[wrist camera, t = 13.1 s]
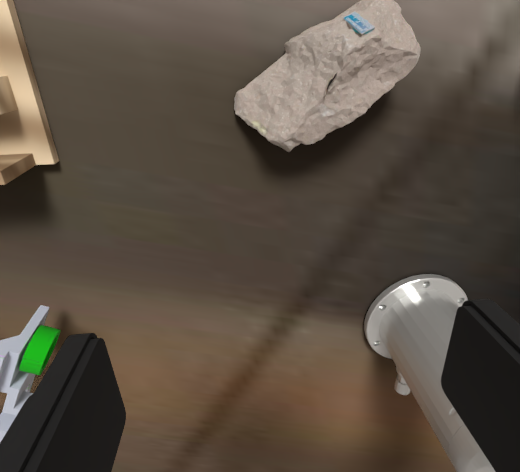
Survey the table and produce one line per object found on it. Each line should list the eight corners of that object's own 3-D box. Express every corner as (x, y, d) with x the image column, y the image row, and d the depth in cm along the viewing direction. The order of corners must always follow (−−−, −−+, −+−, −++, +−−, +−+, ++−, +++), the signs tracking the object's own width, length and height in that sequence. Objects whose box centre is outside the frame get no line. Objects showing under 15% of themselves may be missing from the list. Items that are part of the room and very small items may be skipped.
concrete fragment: (222, 87, 30) (222, 95, 25) (369, -20, 28) (405, -36, 23) (266, 156, 33) (275, 176, 28) (403, 65, 31) (441, 68, 26)
